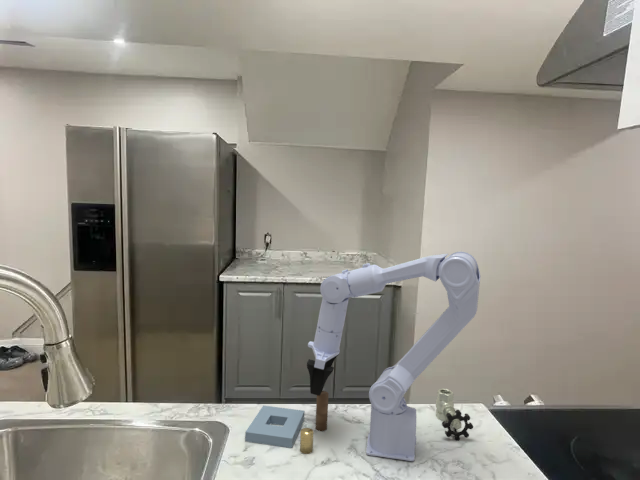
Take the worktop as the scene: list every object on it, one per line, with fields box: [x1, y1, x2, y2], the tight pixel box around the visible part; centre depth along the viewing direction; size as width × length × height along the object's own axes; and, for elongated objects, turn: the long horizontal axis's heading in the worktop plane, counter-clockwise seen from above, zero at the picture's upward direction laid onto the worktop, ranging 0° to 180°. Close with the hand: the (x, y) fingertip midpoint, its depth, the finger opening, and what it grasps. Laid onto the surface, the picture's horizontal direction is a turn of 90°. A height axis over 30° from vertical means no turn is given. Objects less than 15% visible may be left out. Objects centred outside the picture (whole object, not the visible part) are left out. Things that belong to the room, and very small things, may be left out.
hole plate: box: [244, 404, 306, 449], centre depth 91 cm, size 10×12×2 cm
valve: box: [435, 388, 474, 442], centre depth 95 cm, size 7×7×12 cm
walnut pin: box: [314, 390, 330, 432], centre depth 92 cm, size 3×3×8 cm
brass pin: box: [299, 427, 314, 455], centre depth 83 cm, size 3×3×4 cm
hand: (318, 385), depth 91 cm, fingers open, 7 cm apart
